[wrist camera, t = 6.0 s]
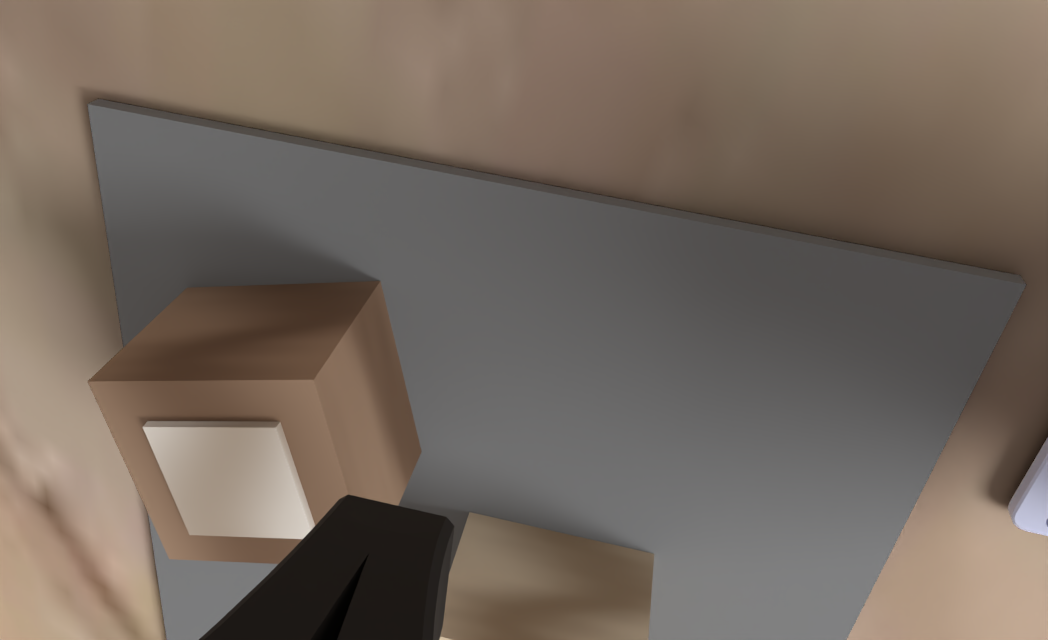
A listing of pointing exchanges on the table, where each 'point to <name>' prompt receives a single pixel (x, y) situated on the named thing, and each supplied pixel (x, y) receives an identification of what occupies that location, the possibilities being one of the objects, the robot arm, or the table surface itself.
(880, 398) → the slate mat
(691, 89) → the table surface
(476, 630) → the plain block
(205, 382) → the walnut block
